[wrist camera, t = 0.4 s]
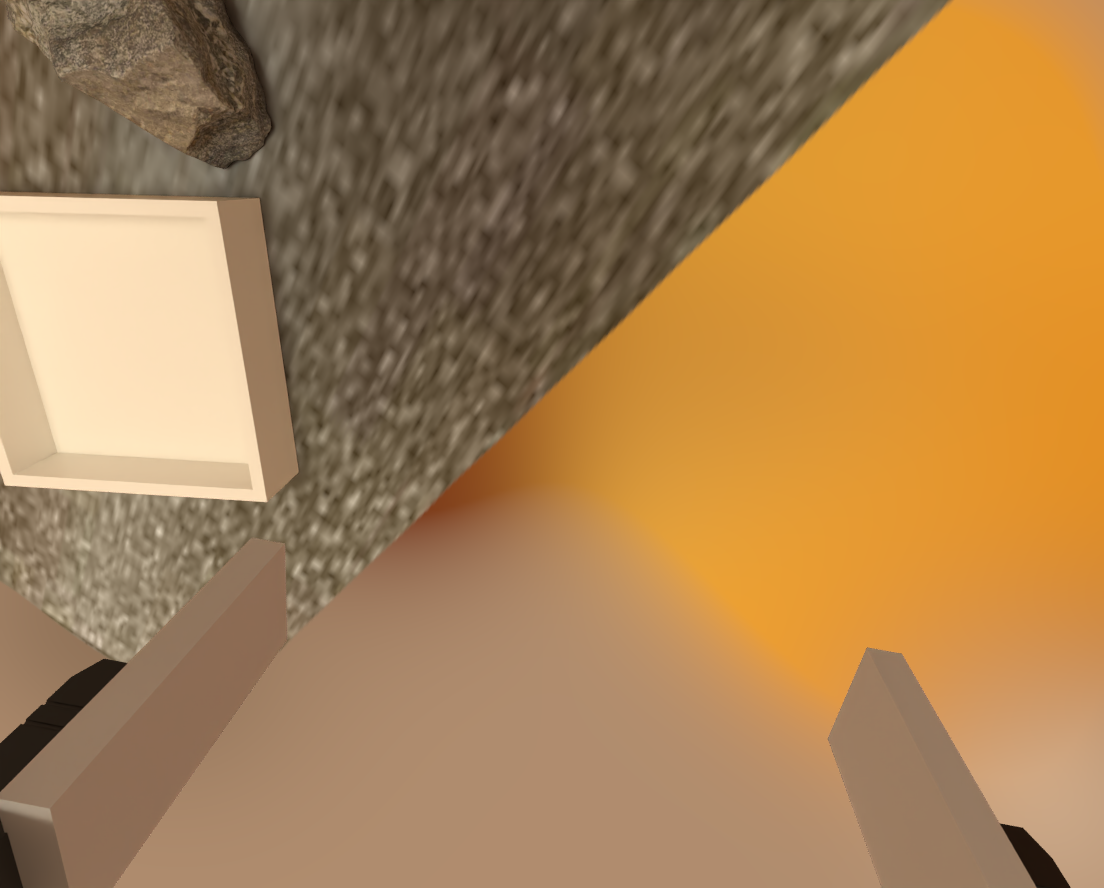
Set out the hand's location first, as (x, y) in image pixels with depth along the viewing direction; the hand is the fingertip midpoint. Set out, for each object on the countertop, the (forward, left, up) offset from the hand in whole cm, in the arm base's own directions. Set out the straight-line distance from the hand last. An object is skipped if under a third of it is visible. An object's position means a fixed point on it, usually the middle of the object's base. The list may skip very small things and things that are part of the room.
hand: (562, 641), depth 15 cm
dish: (+1, -29, -27) cm, 39 cm away
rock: (-16, -24, -27) cm, 40 cm away
